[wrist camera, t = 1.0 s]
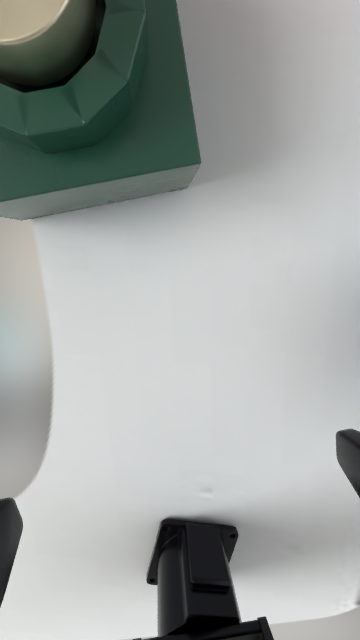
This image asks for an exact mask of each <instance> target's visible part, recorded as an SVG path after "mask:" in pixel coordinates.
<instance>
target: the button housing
mask: <svg viewBox="0 0 360 640" xmlns="http://www.w3.org/2000/svg"><path fill="white" fill-rule="evenodd" d="M200 164H201V158H200V152H199V145H198V139H197V133H196V126H195V120H194V113H193V107H192V100H191V94H190V87H189V81H188V75H187V68H186V62H185V55H184V49H183V42H182V36H181V29H180V23H179V17H178V10H177V4H176V0H96V24H95V30H94V35H93V38H92V42H91V45H90V47H89V49H88V51H87V54H86V55H85V57H84V59H83V60H82V62H81V63H80V64H79V65H78V67H77V68H76V69H75V70H74V71H73V72H71V73H70V74H69V75H68V76H66V77H64V78H63V79H61V80H59V81H57V82H54V83H51V84H47V85H39V86H32V85H23V84H18V83H15V82H12V81H9V80H7V79H5V78H3V77H1V76H0V216H1V217H6V218H12V219H17V220H26V219H31V218H36V217H41V216H47V215H52V214H57V213H62V212H67V211H72V210H77V209H83V208H88V207H93V206H98V205H103V204H108V203H113V202H119V201H124V200H129V199H134V198H139V197H144V196H149V195H155V194H160V193H165V192H170V191H175V190H180V189H185V188H187V187H188V186H189V184H190V182H191V180H192V178H193V176H194V175H195V173H196V171H197V169H198V167H199V166H200Z"/></svg>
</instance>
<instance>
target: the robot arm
mask: <svg viewBox="0 0 360 640" xmlns="http://www.w3.org/2000/svg"><path fill="white" fill-rule="evenodd" d="M336 452H337V459H338V462H339V464H340V466H341V468H342V470H343V471H344V473H345V474H346V476H347V478H348V479H349V481H350V483H351V484H352V486H353V488H354V489H355V491H356V493H357V494H358V496H359V498H360V432H359V431H357V430H354V429H346V430H341V431H338V432H337V433H336ZM166 526H167V527H166ZM22 529H23V521H22V518H21V515H20V513H19V510H18V508H17V505H16V503H15V500H14V499H13V498H5V499H0V607H1V604H2V601H3V598H4V594H5V591H6V588H7V584H8V581H9V577H10V573H11V570H12V566H13V563H14V559H15V555H16V552H17V548H18V545H19V541H20V537H21V534H22ZM237 539H238V531H237V528H236V527H233V526H225V525H216V524H207V523H198V522H189V521H180V520H171V519H165V520H163V521H162V522H161V523H160V527H159V531H158V534H157V538H156V542H155V546H154V549H153V553H152V557H151V560H150V564H149V568H148V572H147V583H148V584H151V585H158V637H155V638H149V639H143V640H274V639H273V636H272V633H271V630H270V628H269V625H268V622H267V619H266V617H259V618H257V620H254V621H248V622H242V621H241V617H240V612H239V608H238V603H237V599H236V594H235V590H234V586H233V581H232V577H231V572H230V568H229V561H230V559H231V556H232V553H233V550H234V547H235V544H236V542H237ZM133 640H142V639H141V638H137V639H133Z"/></svg>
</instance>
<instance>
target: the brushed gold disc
mask: <svg viewBox="0 0 360 640" xmlns="http://www.w3.org/2000/svg"><path fill="white" fill-rule="evenodd" d="M95 24H96V0H0V76H1V77H3V78H5V79H7V80H9V81H12V82H15V83H18V84H23V85H32V86H39V85H47V84H51V83H54V82H57V81H59V80H61V79H63V78H64V77H66V76H68V75H69V74H70V73H71V72H73V71H74V70H75V69H76V68H77V67H78V65H79V64H80V63H81V62H82V60H83V59H84V57H85V55H86V54H87V51H88V49H89V47H90V45H91V42H92V38H93V35H94V30H95Z"/></svg>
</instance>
